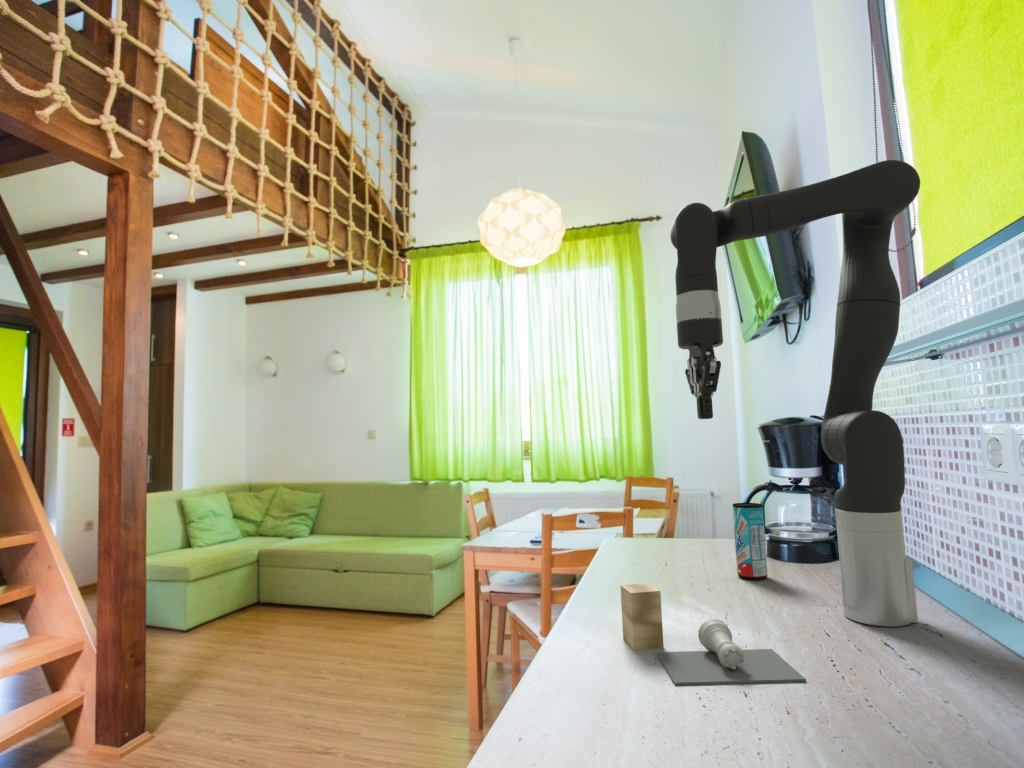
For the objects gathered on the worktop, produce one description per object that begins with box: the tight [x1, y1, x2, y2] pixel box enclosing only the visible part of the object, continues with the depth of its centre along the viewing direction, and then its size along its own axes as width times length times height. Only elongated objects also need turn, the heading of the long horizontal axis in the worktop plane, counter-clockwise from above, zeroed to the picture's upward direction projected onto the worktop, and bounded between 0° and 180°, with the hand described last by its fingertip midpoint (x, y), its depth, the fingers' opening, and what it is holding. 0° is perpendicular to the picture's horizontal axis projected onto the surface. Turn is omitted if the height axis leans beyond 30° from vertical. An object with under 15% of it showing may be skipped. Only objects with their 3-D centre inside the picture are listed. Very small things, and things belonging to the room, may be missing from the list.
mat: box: [656, 648, 807, 686], centre depth 76 cm, size 16×10×1 cm, turn 89°
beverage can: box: [732, 502, 769, 581], centre depth 122 cm, size 6×6×15 cm
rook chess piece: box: [698, 618, 744, 670], centre depth 78 cm, size 4×4×8 cm
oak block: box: [620, 582, 665, 651], centre depth 86 cm, size 4×4×8 cm
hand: (705, 418), depth 100 cm, fingers closed
